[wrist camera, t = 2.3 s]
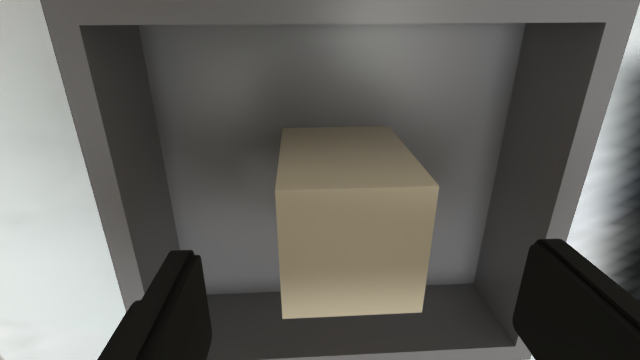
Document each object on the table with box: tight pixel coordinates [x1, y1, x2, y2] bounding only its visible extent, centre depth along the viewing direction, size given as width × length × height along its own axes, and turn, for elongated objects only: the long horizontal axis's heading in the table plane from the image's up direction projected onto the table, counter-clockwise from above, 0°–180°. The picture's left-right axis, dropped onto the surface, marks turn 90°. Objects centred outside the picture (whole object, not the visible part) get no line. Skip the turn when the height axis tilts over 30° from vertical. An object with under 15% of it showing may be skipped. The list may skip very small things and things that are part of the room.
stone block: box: [275, 126, 439, 319], centre depth 14 cm, size 4×4×6 cm
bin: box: [40, 0, 640, 360], centre depth 15 cm, size 14×16×5 cm
